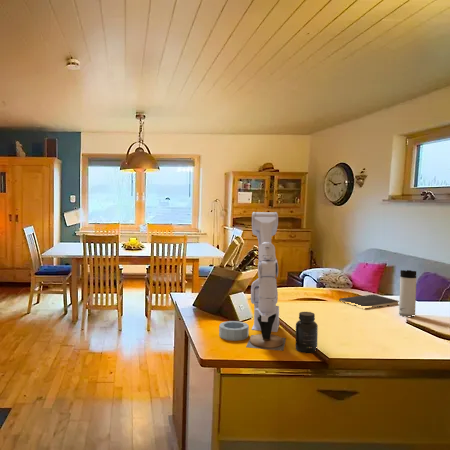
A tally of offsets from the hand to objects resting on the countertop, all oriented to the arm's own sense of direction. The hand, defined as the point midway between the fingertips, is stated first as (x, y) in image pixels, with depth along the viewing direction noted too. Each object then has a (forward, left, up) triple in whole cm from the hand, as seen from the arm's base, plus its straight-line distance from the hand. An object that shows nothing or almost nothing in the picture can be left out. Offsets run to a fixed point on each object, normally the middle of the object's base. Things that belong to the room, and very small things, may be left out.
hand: (266, 337), depth 125 cm
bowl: (+12, -4, -2) cm, 13 cm away
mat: (0, 0, -2) cm, 2 cm away
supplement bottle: (-13, +3, -2) cm, 14 cm away
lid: (0, 0, -2) cm, 2 cm away
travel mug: (-55, -50, -2) cm, 74 cm away
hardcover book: (-42, -69, -3) cm, 81 cm away
